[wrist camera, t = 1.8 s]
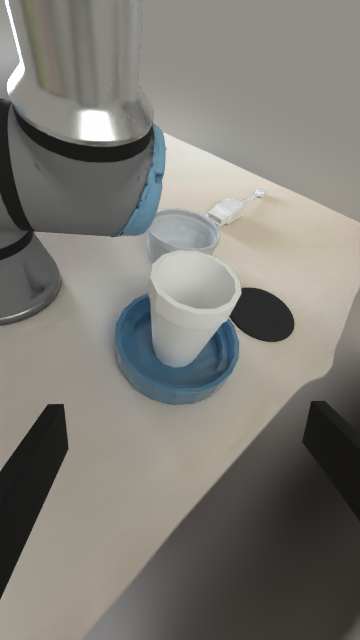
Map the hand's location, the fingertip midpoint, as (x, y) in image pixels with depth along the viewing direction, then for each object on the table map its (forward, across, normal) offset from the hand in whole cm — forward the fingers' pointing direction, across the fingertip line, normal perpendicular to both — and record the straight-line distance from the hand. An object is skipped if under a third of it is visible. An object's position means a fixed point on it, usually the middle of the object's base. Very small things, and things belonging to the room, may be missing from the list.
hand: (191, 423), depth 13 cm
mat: (+29, +16, -2) cm, 33 cm away
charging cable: (+62, +20, +20) cm, 68 cm away
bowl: (+22, 0, -5) cm, 22 cm away
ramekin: (+39, +2, +7) cm, 40 cm away
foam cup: (+21, 0, -5) cm, 22 cm away
